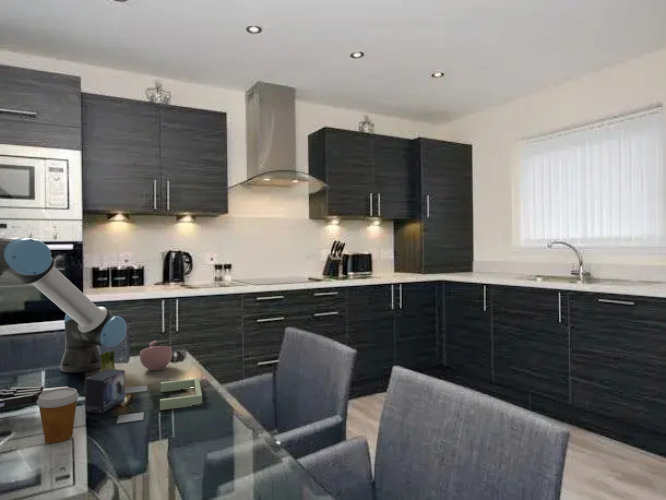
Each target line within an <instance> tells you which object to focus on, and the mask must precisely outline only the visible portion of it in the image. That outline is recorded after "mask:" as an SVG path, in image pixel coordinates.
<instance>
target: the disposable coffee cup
mask: <svg viewBox="0 0 666 500" xmlns="http://www.w3.org/2000/svg"><path fill="white" fill-rule="evenodd" d="M79 395H80V394H79V393H78V390H77V389H76V388H73V387H68V388H58V389H53V390H49V391H46V392H44V393H42V394H40V395H39V398H38V400H37V403H36V404H37V405H38V407H39V408H38V409H39V415H40V419H41V425H42V431H43V438H44V442H45V443H47V444H57V443H61V442H64V441H67V440H69V439H70V438H72V437H73V434H74V426H75V417H76V410H77V403H78V402H77V401H78V399H79Z"/></svg>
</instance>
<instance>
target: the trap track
mask: <svg viewBox="0 0 666 500" xmlns="http://www.w3.org/2000/svg"><path fill="white" fill-rule="evenodd" d="M148 386H149V385H139V386H130V387H129V386H128V387H125V395H129V394H130V395H131V394H136V393H137V394H138V393H146V392H148ZM190 387H194V388H195V389H194V388H193V389H194V394H193V395H185V396H176V397H168V398H167V397H166V398H160V399H159V410H160V411H163V410H164V411H165V410H172V409H179V408H187V407H188V406H189V407H193V406H192V405H196V404H200V403H202V404H203V394H202V388H201V383H200V378H191V379H189V378H188V379H180V380H170V381H168V380H167V381H161V382H160V393H163V392H164V393H165V392H172V391H182V390H181V389H183V390H186V389H185V388H190ZM195 394H196V395H195ZM144 416H145V412H144V411H143V412H135V413H126V414H118V416H117V420H116V425H120V424H126V423H133V422H142V421H144Z"/></svg>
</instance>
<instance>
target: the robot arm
mask: <svg viewBox="0 0 666 500" xmlns="http://www.w3.org/2000/svg"><path fill="white" fill-rule="evenodd" d="M52 255H53V254H52V252H51V249H50V247H49V246H48V245H47V244H46V243H44V242H43V241H41V240H39V239H36V238H31V237H0V279H1V278H2V277H3V276H4V275H6V274H10V275H12V276H14V277H15V278H16V279H17V280H18V281H20V282H21V283H22V284H23V285H25V286H28V285H31V286H34V288H36V289H37V290H38V291H39V292H41V293H42V294H43V295H44V296H45V297H47V298H48V299H49V300H50V301H51V302H52V303H54V305H56V307H58V308H59V309H60V310H61V311H62V312H64V313H65V314H64V315H65V316H64V341H65V342H64V344H65V345H64V346H65V348H64V353H63V356H62V359H61V361H60V366H59V367H60V371H61V372H63V373H67V374H68V373H69V374H71V373H72V374H75V373H76V374H77V373H83V372H90V371H94V370H98V369H101V356H100V354H102V352H101V349H100V347H99V346H102V347H104V348H106V347H107V348H109V347H110V348H111V347H112V348H113V347H116V346H117V345H119V344H121V342H122V341H123V340H125V339H124V338H125V337H126V335H127V334H126V333H127V328H128V326H127V323H126V321H125V319H124V318H123V317H120V315H119V316H118V315H113V314H112V312H110V311H109V310H108V309H107V308H106V307H104V306H97V305H96V304H95V303H94V302H93V301H92V300H91V299H90V298H88V296H86V295H85V294H84V293H83V292H82V291H81V290H80V289H79V288H78V287H77V286H76V285H75V284H73V283H72V282H71V280H69V279H68V278H67V277H66V276H65V275H64V274H63V273H62V272H61V271H59V269H57V268H56V260H55V259H54V257H52ZM44 387H45V386H44V385H41V386H23V387H22V386H21V387H18V386H9V387H8V389H0V410H3V409H4V410H5V409H10V408H15V407H20V406H25V405H31V404H37V400H38V398H39V395H40V394H42V393H44V392H46V391H49V390H53V389H58V388H69V386H59V387H58V386H57V387H49V388H47V387H46V388H44Z"/></svg>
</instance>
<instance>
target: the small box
mask: <svg viewBox="0 0 666 500" xmlns="http://www.w3.org/2000/svg"><path fill="white" fill-rule="evenodd" d="M125 374H126V373H125V370H124V369H117V368H115V369H107V370H104V371H102V372H100V371H99V372H97V373H95V374H93V375H90V376H88V377H86V378H85V404H84V405H85V408H84V409H85V410H84V411H86V413H93V412H94V413H95V414H104V413H106V412H108V411H109V410H111V409H113V408H115V407H117V406H119V405H120V404H123V402H125V401H126V400H125V399H126V398H125V397H126V396H125V395H126V394H125V389H126V387H125V386H126V385H125V384H126V382H125V380H126V376H125Z"/></svg>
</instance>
